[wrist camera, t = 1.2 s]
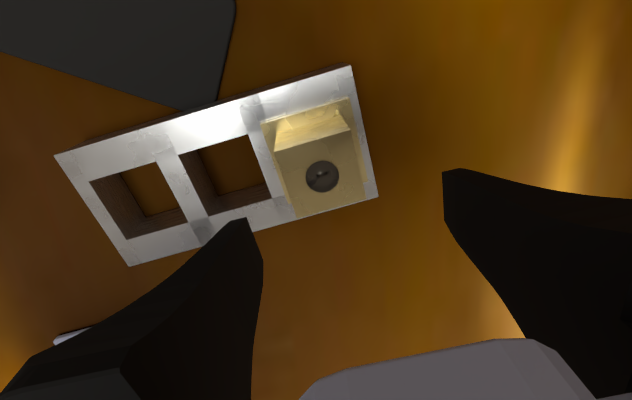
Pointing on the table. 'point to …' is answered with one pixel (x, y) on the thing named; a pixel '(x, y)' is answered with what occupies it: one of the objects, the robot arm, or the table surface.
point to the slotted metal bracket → (200, 166)
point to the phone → (127, 43)
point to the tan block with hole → (317, 157)
